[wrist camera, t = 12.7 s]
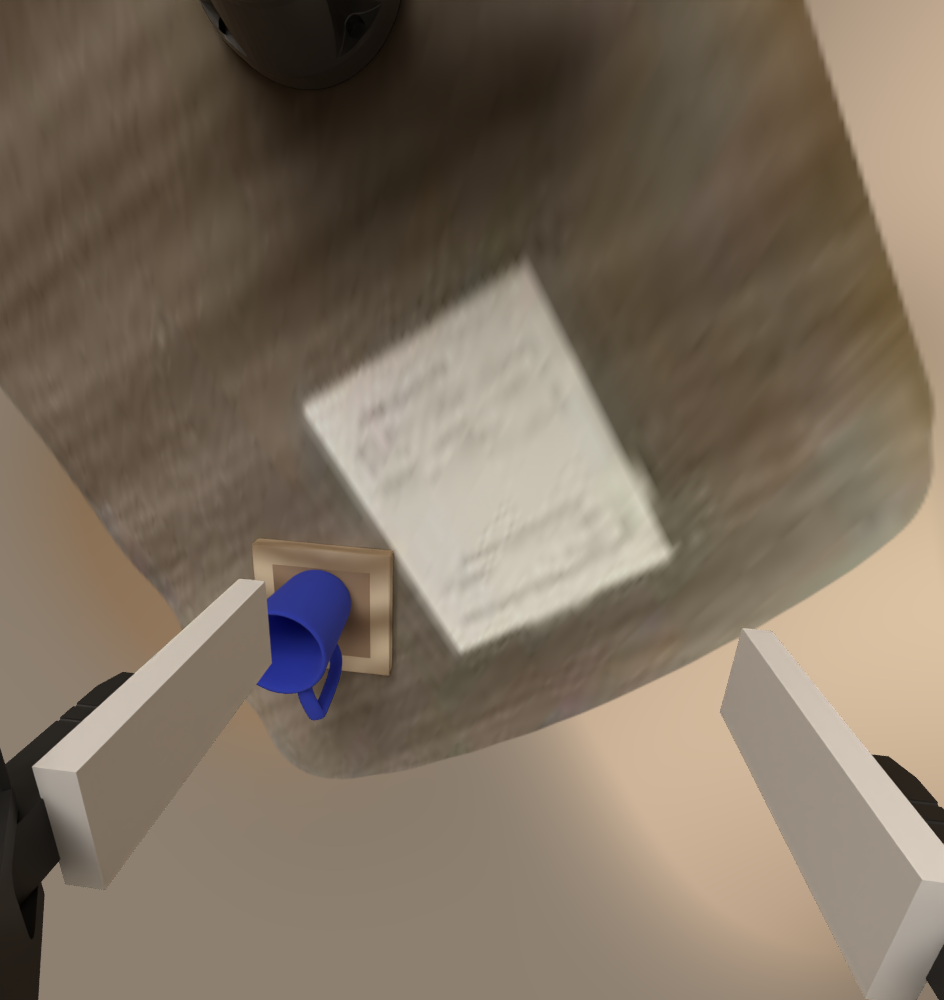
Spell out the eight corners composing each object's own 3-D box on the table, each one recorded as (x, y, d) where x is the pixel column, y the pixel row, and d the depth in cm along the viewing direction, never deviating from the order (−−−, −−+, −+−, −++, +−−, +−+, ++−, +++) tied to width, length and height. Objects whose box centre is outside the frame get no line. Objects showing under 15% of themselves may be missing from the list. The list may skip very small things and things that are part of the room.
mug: (314, 667, 56) (272, 736, 47) (270, 569, 53) (215, 622, 43) (384, 652, 55) (356, 721, 45) (344, 550, 51) (303, 602, 42)
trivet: (258, 538, 54) (251, 544, 52) (393, 550, 53) (389, 557, 51) (268, 653, 58) (262, 662, 57) (392, 666, 57) (388, 675, 56)
